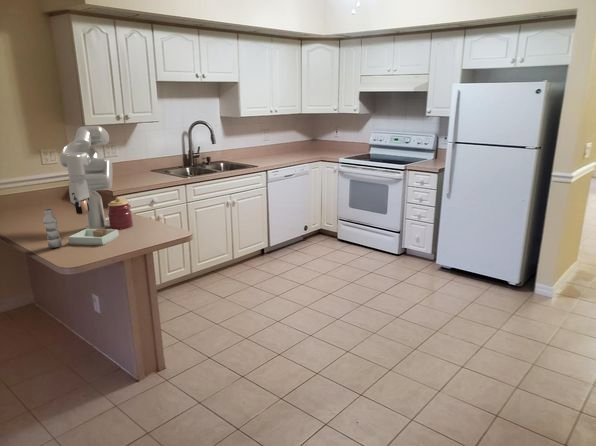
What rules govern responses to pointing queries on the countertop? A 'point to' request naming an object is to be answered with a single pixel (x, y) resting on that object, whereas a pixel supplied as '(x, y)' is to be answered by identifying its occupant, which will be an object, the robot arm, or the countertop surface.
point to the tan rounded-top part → (84, 207)
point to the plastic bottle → (51, 229)
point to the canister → (119, 214)
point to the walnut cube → (100, 232)
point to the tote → (92, 237)
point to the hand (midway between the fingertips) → (83, 212)
